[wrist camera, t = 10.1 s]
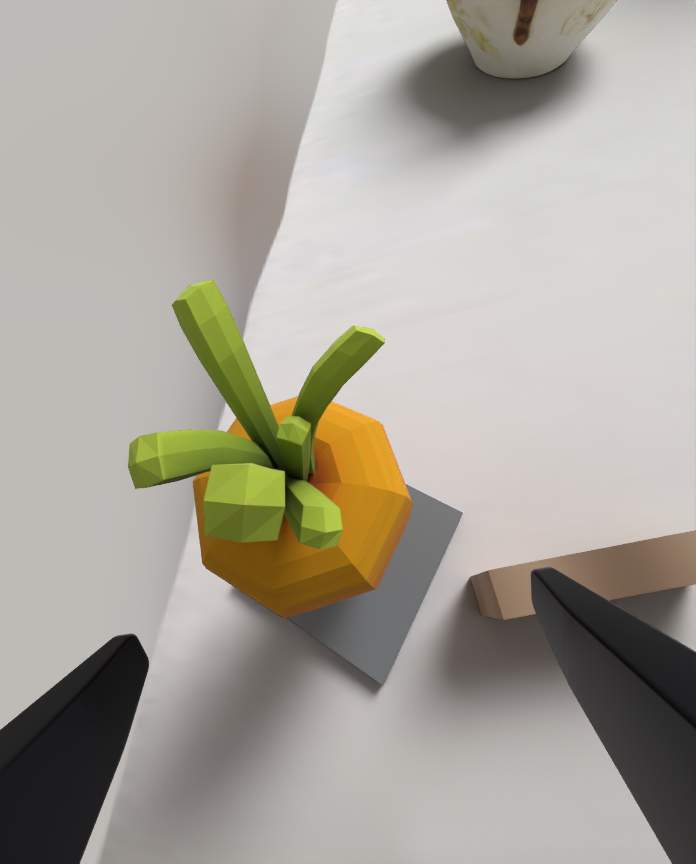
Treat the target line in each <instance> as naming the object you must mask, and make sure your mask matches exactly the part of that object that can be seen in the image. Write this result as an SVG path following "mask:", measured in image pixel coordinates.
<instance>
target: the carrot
mask: <svg viewBox="0 0 696 864" xmlns="http://www.w3.org/2000/svg"><path fill="white" fill-rule="evenodd" d="M172 307H173V309H174V311H175V314H176V316H177V319H178V321H179V324H180V326H181V328H182V330H183V331H184V334H185V335H186V337H187V339H188V340H189V342H190V344H191V346H192V348H193V349H194V351H195V353H196V355H197V357H198V358H199V360H200V361H201V363H202V365H203V366H204V368H205V369H206V371H207V372H208V374H209V376H210V377H211V379H212V380H213V382H214V383H215V385H216V387H217V388H218V390H219V391H220V393H221V394H222V396H223V397H224V399H225V401H226V402H227V404H228V405H229V407H230V408H231V410H232V411H233V413H234V414H235V416H236V420H235V421H234V422H233V424H232V425H231V427H230V428H229V430H228V431H227V432H224V431H217V430H179V431H168V432H158V433H153V434H148V435H143V436H139V437H138V438H137V439H135V440H134V441H133V442H131V444H130V449H129V462H128V468H129V471H130V474H131V477H132V480H133V483H134V486H135V488H147V487H151V486H156V485H161V484H166V483H170V482H175V481H179V480H182V479H186V478H189V477H192V476H195V475H197V476H196V478H195V479H194V481H193V488H194V497H195V506H196V514H197V523H198V531H199V539H200V548H201V556H202V564H203V565H204V566H205V567H206V569H208V570H209V571H211V572H212V573H214V574H215V575H217V576H219V577H220V578H222V579H223V580H225V581H226V582H228V583H229V584H231V585H232V586H234V587H236V588H237V589H239V590H240V591H242V592H243V593H245V594H246V595H248V596H249V597H251V598H252V599H254V600H256V601H257V602H259V603H260V604H262V605H263V606H265V607H266V608H268V609H269V610H271V611H273V612H274V613H276V614H277V615H279V616H280V617H284V618H287V617H290V616H294V615H298V614H302V613H305V612H309V611H312V610H315V609H318V608H321V607H324V606H327V605H330V604H333V603H336V602H339V601H342V600H345V599H348V598H351V597H354V596H357V595H360V594H363V593H366V592H369V591H372V590H375V589H377V588H378V586H379V584H380V582H381V580H382V578H383V575H384V573H385V571H386V569H387V567H388V565H389V563H390V560H391V558H392V556H393V554H394V552H395V550H396V548H397V545H398V543H399V541H400V539H401V537H402V535H403V533H404V530H405V528H406V526H407V524H408V522H409V518H410V514H411V511H412V507H413V504H412V501H411V498H410V495H409V493H408V490H407V487H406V485H405V482H404V480H403V477H402V474H401V472H400V469H399V466H398V464H397V461H396V459H395V456H394V453H393V451H392V448H391V445H390V443H389V440H388V438H387V435H386V432H385V430H384V427H383V425H382V424H381V423H380V422H379V421H377V420H374V419H372V418H370V417H367V416H365V415H362V414H360V413H358V412H355V411H353V410H351V409H348V408H346V407H344V406H341V405H339V404H337V403H334V402H332V400H333V398H334V397H335V396H336V394H337V393H338V392H339V390H340V389H341V387H342V386H343V385H344V384H345V383H346V382H347V381H348V380H349V379H350V378H351V377H352V376H353V375H354V374H355V373H356V372H357V371H358V370H359V369H360V368H361V367H362V366H363V365H364V364H365V363H366V362H367V361H368V360H369V359H370V358H371V357H372V356H373V355H374V354H375V353H376V352H377V350H378V349H379V348H380V347H381V346H382V345H383V344H384V343H385V339H384V338H383V337H382V336H381V335H379V334H378V333H377V332H376V331H375V330H374V329H370V328H364V327H359V326H352V327H351V328H350V329H349V330H347V331H346V332H345V333H344V334H343V335H342V336H341V337H339V338H338V339H337V340H336V341H335V342H334V343H333V344H332V346H331V347H330V348H329V349H328V350H327V351H326V352H325V353H324V355H323V356H322V357H321V358H320V359H319V360H318V361H317V362H316V364H315V365H314V366H313V367H312V369H311V371H310V373H309V375H308V377H307V379H306V381H305V383H304V385H303V387H302V389H301V391H300V393H299V396H298V397H295V398H292V399H288V400H285V401H282V402H279V403H276V404H273V405H270V404H269V402H268V399H267V397H266V394H265V392H264V390H263V387H262V385H261V382H260V380H259V378H258V375H257V373H256V370H255V368H254V366H253V363H252V361H251V358H250V356H249V354H248V351H247V349H246V346H245V344H244V342H243V339H242V337H241V335H240V333H239V330H238V328H237V326H236V324H235V321H234V319H233V317H232V314H231V313H230V310H229V308H228V306H227V304H226V302H225V300H224V298H223V296H222V295H221V293H220V291H219V289H218V287H217V286H216V284H215V282H214V281H213V280H212V281H204V282H200V283H197V284H193V285H190V286H188V287H187V289H186V290H185V291H184V292H183V293H182V294H181V295H180V296H179V298H178V299H177V300H176V301H175V302H174V303H173V304H172Z"/></svg>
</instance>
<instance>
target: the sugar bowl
mask: <svg viewBox="0 0 696 864" xmlns="http://www.w3.org/2000/svg"><path fill="white" fill-rule="evenodd" d="M446 1H447V3H448V6H449V9H450V11H451V14H452V17H453V19H454V21H455V23H456V25H457V27H458V29H459V31H460V33H461V35H462V37H463V39H464V41H465V43H466V45H467V47H468V49H469V51H470V53H471V56H472V58H473V60H474V63H475V65H476V66H477V67H478V68H479V69H480V70H481V71H483V72H484V73H486V74H489V75H492V76H495V77H500V78H510V79H517V78H530V77H535V76H539V75H543V74H545V73H548V72H550V71H552V70H554V69H555V68H557V67H559V66H560V65H562V64H563V63H564V62H565V61H566V60H567V59H568V57H569V56H570V55H571V53H572V52H573V51H574V50H575V49H576V47H577V46H578V45H579V44H580V43H581V42H582V40H583V39H584V38H585V37H586V36H587V35H588V34H589V33H590V32H591V31H592V30H593V28H594V27H595V26H596V25H597V24H598V23H599V22H600V21H601V19H602V18H603V17H604V16H605V15H606V13H607V12H608V11H609V10H610V9H611V7H612V6H613V5H614V4H615V3H616V1H617V0H446Z"/></svg>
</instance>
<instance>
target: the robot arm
mask: <svg viewBox="0 0 696 864" xmlns="http://www.w3.org/2000/svg"><path fill="white" fill-rule="evenodd" d="M531 599H532V604H533V607H534V610H535V612H536V614H537V617H538V619H539V621H540V623H541V625H542V628H543V630H544V632H545V634H546V636H547V639H548V641H549V643H550V645H551V647H552V649H553V652H554V654H555V656H556V658H557V660H558V663H559V665H560V667H561V669H562V671H563V673H564V675H565V678H566V680H567V682H568V684H569V686H570V688H571V689H572V691H573V693H574V695H575V697H576V698H577V700H578V702H579V704H580V705H581V707H582V709H583V711H584V712H585V714H586V716H587V717H588V719H589V721H590V723H591V724H592V726H593V728H594V730H595V731H596V733H597V735H598V736H599V738H600V740H601V742H602V743H603V745H604V747H605V749H606V750H607V752H608V754H609V755H610V757H611V759H612V761H613V762H614V764H615V766H616V768H617V769H618V771H619V773H620V774H621V776H622V778H623V780H624V781H625V783H626V785H627V787H628V788H629V790H630V792H631V793H632V795H633V797H634V799H635V800H636V802H637V804H638V806H639V807H640V809H641V811H642V813H643V814H644V816H645V818H646V819H647V821H648V823H649V825H650V826H651V828H652V830H653V832H654V833H655V835H656V837H657V838H658V840H659V842H660V844H661V845H662V847H663V849H664V851H665V852H666V854H667V856H668V857H669V859H670V861H671V863H672V864H696V652H695V651H693V650H692V649H690V648H688V647H687V646H685V645H683V644H682V643H680V642H678V641H676V640H675V639H673V638H671V637H670V636H668V635H666V634H665V633H663V632H661V631H660V630H658V629H656V628H654V627H653V626H651V625H649V624H648V623H646V622H644V621H643V620H641V619H639V618H638V617H636V616H634V615H633V614H631V613H629V612H627V611H626V610H624V609H622V608H621V607H619V606H617V605H616V604H614V603H612V602H611V601H609V600H607V599H605V598H604V597H602V596H600V595H599V594H597V593H595V592H594V591H592V590H590V589H589V588H587V587H585V586H584V585H582V584H580V583H578V582H577V581H575V580H573V579H572V578H570V577H568V576H567V575H565V574H563V573H562V572H560V571H558V570H557V569H555V568H553V567H543V568H537V569H533V570H532V571H531ZM148 668H149V660H148V657H147V655H146V653H145V651H144V649H143V647H142V645H141V643H140V642H139V639H138V638H137V636H136V635H134V634H125V635H119V636H116V637H114V638H112V639H111V640H110V641H108V642H107V643H106V644H105V645H104V646H102V647H101V648H100V649H99V650H97V651H96V652H95V653H94V654H93V655H91V656H90V657H89V658H88V659H86V660H85V661H84V662H83V663H82V664H80V665H79V666H78V667H77V668H75V669H74V670H73V671H72V672H71V673H69V674H68V675H67V676H66V677H64V678H63V679H62V680H61V681H60V682H59V683H57V684H56V685H55V686H53V687H52V688H51V689H50V690H49V691H47V692H46V693H45V694H44V695H42V696H41V697H40V698H39V699H38V700H36V701H35V702H34V703H33V704H31V705H30V706H29V707H28V708H27V709H25V710H24V711H23V712H22V713H20V714H19V715H18V716H17V717H16V718H14V719H13V720H12V721H11V722H9V723H8V724H7V725H6V726H5V727H3V728H2V729H1V730H0V864H80V861H81V859H82V856H83V854H84V851H85V849H86V846H87V843H88V841H89V838H90V836H91V833H92V830H93V828H94V825H95V823H96V820H97V818H98V815H99V813H100V810H101V807H102V805H103V802H104V800H105V797H106V795H107V792H108V790H109V787H110V784H111V782H112V779H113V777H114V774H115V772H116V769H117V766H118V764H119V761H120V759H121V756H122V753H123V750H124V747H125V744H126V742H127V738H128V736H129V732H130V729H131V726H132V722H133V719H134V716H135V712H136V709H137V706H138V702H139V699H140V696H141V692H142V689H143V686H144V682H145V679H146V676H147V672H148Z"/></svg>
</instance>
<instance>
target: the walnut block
mask: <svg viewBox="0 0 696 864" xmlns="http://www.w3.org/2000/svg"><path fill="white" fill-rule="evenodd" d="M543 567H553V568H555V569H557V570H558V571H560V572H562V573H563V574H565V575H567V576H568V577H570V578H572V579H573V580H575V581H577V582H578V583H580V584H582V585H584V586H585V587H587V588H589V589H590V590H592V591H594V592H595V593H597V594H599V595H600V596H602V597H604V598H605V599H607V600H613V599H619V598H624V597H629V596H635V595H640V594H646V593H651V592H656V591H662V590H667V589H672V588H678V587H683V586H688V585H694V584H696V530H695V531H690V532H685V533H680V534H674V535H669V536H664V537H659V538H654V539H649V540H643V541H638V542H633V543H628V544H623V545H618V546H612V547H607V548H602V549H597V550H592V551H587V552H581V553H576V554H571V555H566V556H561V557H556V558H550V559H545V560H540V561H535V562H530V563H525V564H519V565H514V566H509V567H504V568H499V569H494V570H488V571H485V572H483V573H480V574H477V575H474V576H471V577H470V578H471V582H472V585H473V589H474V592H475V595H476V599H477V602H478V606H479V609H480V612H481V616H486V617H491V618H496V619H501V620H506V619H512V618H517V617H522V616H528V615H533V614H536V612H535V610H534V607H533V604H532V599H531V571H532V570H533V569H537V568H543Z"/></svg>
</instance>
